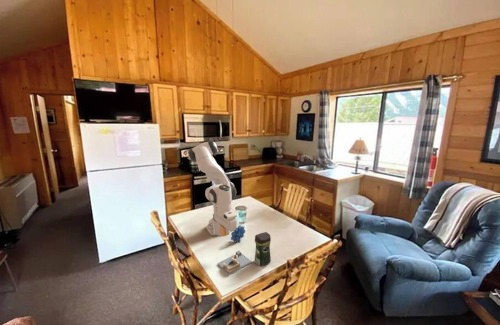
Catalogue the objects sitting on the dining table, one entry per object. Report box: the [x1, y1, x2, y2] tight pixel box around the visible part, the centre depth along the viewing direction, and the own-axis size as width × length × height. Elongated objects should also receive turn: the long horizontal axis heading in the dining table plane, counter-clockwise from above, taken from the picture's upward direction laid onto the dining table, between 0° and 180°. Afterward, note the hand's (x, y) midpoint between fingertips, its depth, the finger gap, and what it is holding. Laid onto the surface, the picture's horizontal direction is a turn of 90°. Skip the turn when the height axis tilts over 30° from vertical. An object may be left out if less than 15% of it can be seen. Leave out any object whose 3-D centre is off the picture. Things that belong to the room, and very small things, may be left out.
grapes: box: [230, 225, 246, 243], centre depth 153 cm, size 12×7×12 cm, turn 122°
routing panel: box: [217, 252, 253, 276], centre depth 129 cm, size 12×17×1 cm
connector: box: [220, 225, 230, 238], centre depth 133 cm, size 4×4×7 cm
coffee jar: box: [254, 231, 272, 267], centre depth 129 cm, size 10×8×19 cm
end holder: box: [223, 258, 240, 273], centre depth 124 cm, size 7×8×2 cm
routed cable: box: [229, 250, 242, 265], centre depth 131 cm, size 6×11×2 cm, turn 129°
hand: (224, 231), depth 133 cm, fingers closed on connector, 4 cm apart
